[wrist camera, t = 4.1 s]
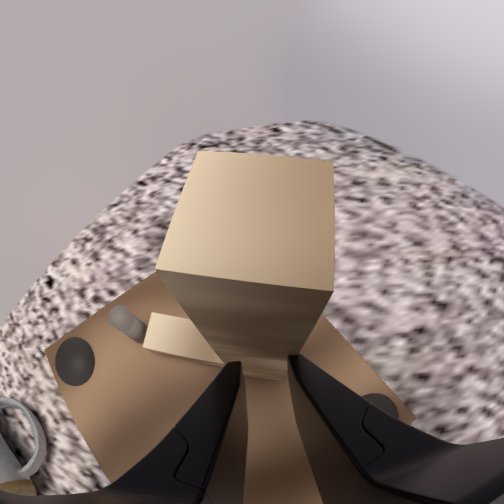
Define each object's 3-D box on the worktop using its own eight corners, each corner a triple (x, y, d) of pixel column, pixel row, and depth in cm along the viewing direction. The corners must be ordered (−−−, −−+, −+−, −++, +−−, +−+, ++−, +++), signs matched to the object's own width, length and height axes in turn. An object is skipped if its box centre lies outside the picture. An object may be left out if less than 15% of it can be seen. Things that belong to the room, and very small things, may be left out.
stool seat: (407, 418, 14) (445, 415, 10) (194, 565, 9) (176, 597, 6) (236, 230, 21) (230, 187, 17) (54, 354, 17) (14, 335, 13)
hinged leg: (149, 356, 15) (-12, 239, 5) (159, 314, 16) (37, 157, 6) (282, 380, 14) (333, 291, 4) (288, 333, 16) (333, 162, 5)
